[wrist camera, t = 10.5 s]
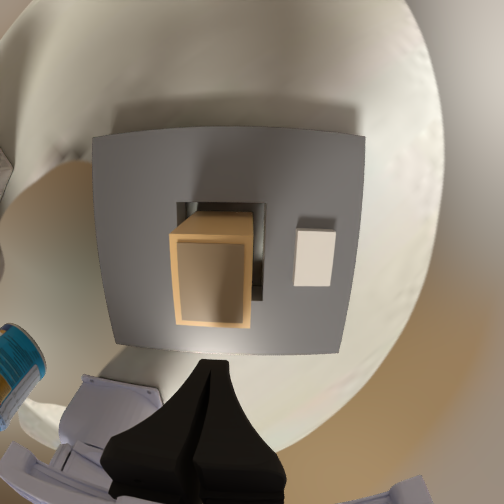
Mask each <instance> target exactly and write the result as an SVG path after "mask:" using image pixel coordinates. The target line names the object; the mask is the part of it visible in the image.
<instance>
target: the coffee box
mask: <svg viewBox="0 0 504 504" xmlns="http://www.w3.org/2000/svg"><path fill="white" fill-rule="evenodd" d="M12 171H13V167H12V165H11V164H10V162H9V161H8V159H7V158H6V156H5V154H4V153H3V151H2V150H1V148H0V201H1V198H2V195H3V193H4V190H5V187H6V185H7V182H8V180H9V178H10V175H11V173H12Z"/></svg>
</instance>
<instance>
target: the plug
mask: <svg viewBox="0 0 504 504" xmlns="http://www.w3.org/2000/svg"><path fill="white" fill-rule="evenodd" d="M169 242H170V260H171V275H172V288H173V299H174V309H175V319H176V325H189V326H204V327H223V328H250V319H251V290H252V260H253V212H228V211H196V212H195V213H193V214H192V215H191V216H190V217H189V218H187V219H186V220H185V221H184V222H183V223H181V224H180V225H179V226H178V227H177V228H175V229H174V230H173V231H172V232H171V233H170V234H169Z"/></svg>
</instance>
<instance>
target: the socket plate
mask: <svg viewBox="0 0 504 504" xmlns="http://www.w3.org/2000/svg"><path fill="white" fill-rule="evenodd" d="M364 166H365V136H358V135H351V134H344V133H336V132H328V131H318V130H308V129H295V128H280V127H255V126H208V127H184V128H168V129H156V130H145V131H136V132H128V133H120V134H113V135H106V136H100V137H94V138H93V143H92V178H93V202H94V217H95V228H96V238H97V246H98V254H99V262H100V268H101V275H102V281H103V287H104V292H105V298H106V303H107V307H108V312H109V317H110V321H111V326H112V329H113V334H114V338H115V342H116V344H121V345H128V346H135V347H143V348H151V349H160V350H170V351H181V352H194V353H209V354H230V355H311V354H331V353H339V348H340V344H341V340H342V335H343V330H344V325H345V320H346V315H347V310H348V305H349V299H350V294H351V288H352V282H353V275H354V269H355V262H356V255H357V247H358V239H359V230H360V221H361V210H362V198H363V184H364ZM185 202H248V203H265V204H264V234H263V261H262V286H252V290H251V319H250V328H223V327H204V326H189V325H176V319H175V309H174V299H173V288H172V275H171V260H170V242H169V234H170V233H171V232H172V231H173V230H174V229H175V228H177V227H178V226H179V225H180V224H181V223H183V222H184V221H185V220H186V203H185Z"/></svg>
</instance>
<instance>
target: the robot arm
mask: <svg viewBox="0 0 504 504" xmlns="http://www.w3.org/2000/svg"><path fill="white" fill-rule="evenodd" d="M81 378H82V381H83V383H82V385H81V386H80V388H79V389H78V391H77V392H76V394H75V395H74V397H73V398H72V400H71V402H70V403H69V405H68V406H67V408H66V410H65V411H64V413H63V415H62V417H61V420H60V424H59V438H60V441H61V444H60V445H59V447H58V448H57V450H56V452H55V454H54V456H53V458H52V459H51V462H50V464H49V465H47V464H45V463H43V462H41V461H40V460H38V459H37V458H36V457H35V455H34V454H33V453H32V452H31V451H29V450H28V449H27V448H25V447H23V446H22V445H20V444H18V443H16V442H15V441H12V443H11V444H10V446H9V447H8V449H7V451H6V452H5V454H4V456H3V457H2V459H1V460H0V477H1V478H2V479H3V480H4V481H5V482H6V483H7V484H8V485H9V486H11V487H12V488H13V489H14V490H15V491H17V492H18V493H19V494H20V495H22V496H23V497H24V498H26V499H27V500H29V501H31V502H32V503H34V504H284V488H285V484H286V474H285V471H284V468H283V466H282V464H281V462H280V460H279V458H278V456H277V454H276V453H275V452H274V451H273V450H272V449H271V448H270V447H269V446H268V445H267V444H266V443H265V442H264V440H263V439H262V438H261V437H260V436H259V434H258V433H257V432H256V430H255V429H254V428H253V426H252V425H251V423H250V422H249V420H248V418H247V417H246V415H245V413H244V411H243V410H242V408H241V406H240V403H239V401H238V399H237V397H236V394H235V392H234V388H233V385H232V382H231V379H230V374H229V362H228V361H227V360H210V359H201V360H200V361H199V362H198V364H197V365H196V367H195V369H194V370H193V372H192V373H191V374H190V376H189V377H188V378H187V380H186V381H185V382H184V384H183V385H182V386H181V387H180V388H179V390H178V391H177V392H176V393H175V394H174V395H173V396H172V397H171V398H170V399H169V400H168V401H167V402H166V403H165V404H164V405H162V401H161V397H160V394H159V391H158V390H157V389H156V388H152V387H145V386H139V385H133V384H128V383H122V382H117V381H112V380H107V379H103V378H98V377H94V376H90V375H86V374H83V375H82V376H81ZM149 391H150V392H149ZM338 504H434V503H433V501H432V498H431V496H430V494H429V491H428V489H427V487H426V484H425V482H424V480H423V478H422V475H418V476H415V477H412V478H410V479H407V480H404V481H401V482H399V483H397V484H395V485H393V486H392V487H391V488H390V490H389V491H387V492H384V493H380V494H377V495H373V496H369V497H365V498H361V499H357V500H352V501H348V502H343V503H338Z"/></svg>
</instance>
